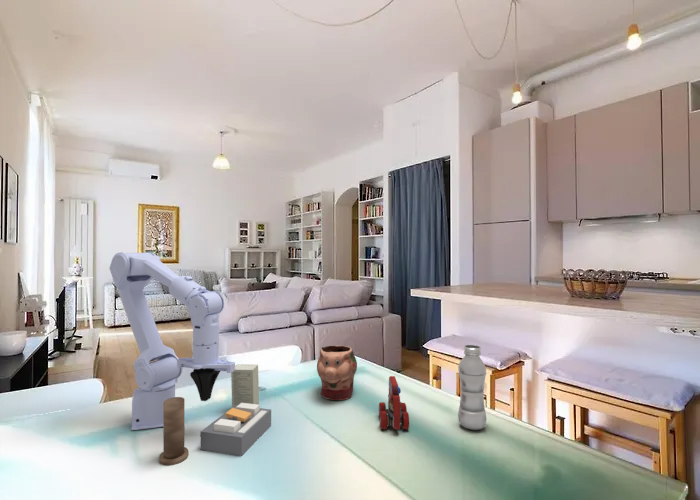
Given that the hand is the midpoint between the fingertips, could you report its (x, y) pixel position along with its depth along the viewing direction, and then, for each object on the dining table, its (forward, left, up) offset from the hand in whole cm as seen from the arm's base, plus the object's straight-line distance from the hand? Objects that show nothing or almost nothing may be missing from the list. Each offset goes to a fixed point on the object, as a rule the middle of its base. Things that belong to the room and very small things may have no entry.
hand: (205, 399), depth 89 cm
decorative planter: (+36, +15, -8) cm, 40 cm away
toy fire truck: (+45, -8, -8) cm, 47 cm away
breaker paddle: (+8, -4, -3) cm, 9 cm away
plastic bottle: (+63, -15, -8) cm, 65 cm away
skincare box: (+9, +9, -8) cm, 15 cm away
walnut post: (-5, -10, -8) cm, 14 cm away
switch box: (+8, -4, -8) cm, 12 cm away
